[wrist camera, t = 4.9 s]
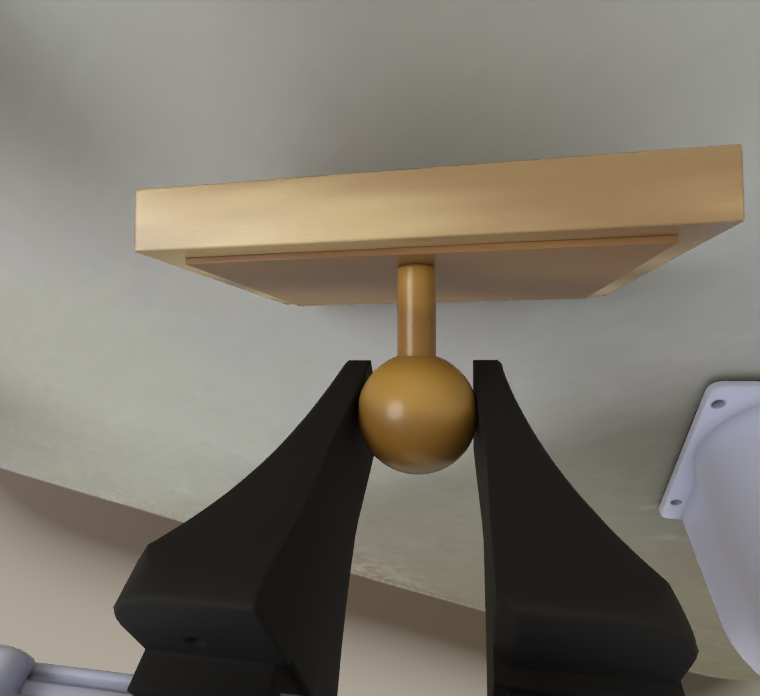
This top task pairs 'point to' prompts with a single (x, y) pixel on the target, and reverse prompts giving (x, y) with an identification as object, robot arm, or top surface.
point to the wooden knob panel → (444, 254)
